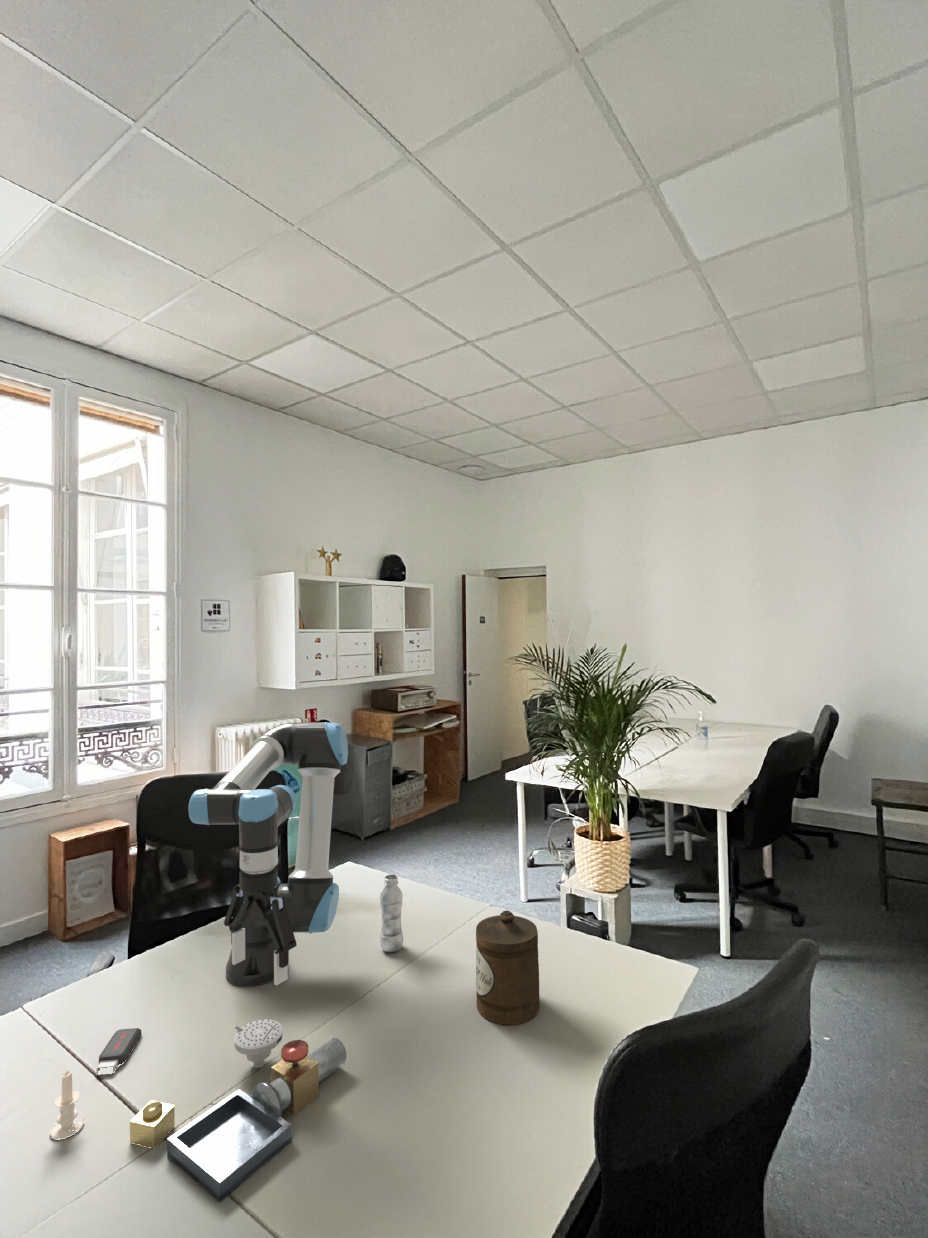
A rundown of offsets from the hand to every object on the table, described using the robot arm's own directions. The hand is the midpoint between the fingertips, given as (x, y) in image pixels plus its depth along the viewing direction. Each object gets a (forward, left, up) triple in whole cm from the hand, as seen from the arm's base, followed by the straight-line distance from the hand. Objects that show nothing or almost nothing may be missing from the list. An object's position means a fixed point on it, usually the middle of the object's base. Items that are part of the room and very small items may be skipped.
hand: (259, 971), depth 130 cm
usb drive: (-27, -15, -19) cm, 37 cm away
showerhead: (0, 0, -19) cm, 19 cm away
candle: (-14, -30, -19) cm, 38 cm away
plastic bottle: (-8, +50, -19) cm, 54 cm away
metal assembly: (+14, -7, -19) cm, 25 cm away
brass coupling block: (0, -22, -19) cm, 29 cm away
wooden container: (+32, +46, -19) cm, 59 cm away
